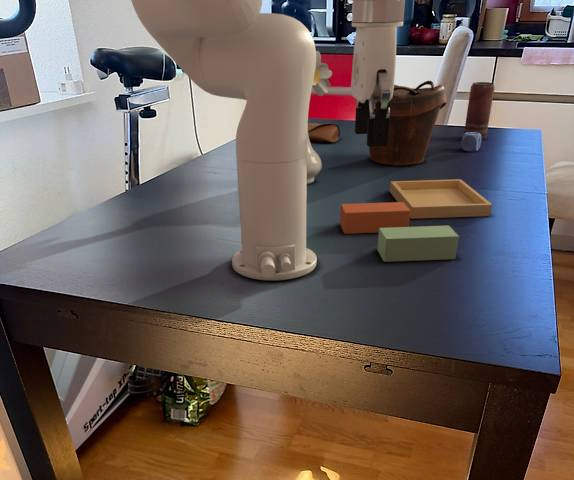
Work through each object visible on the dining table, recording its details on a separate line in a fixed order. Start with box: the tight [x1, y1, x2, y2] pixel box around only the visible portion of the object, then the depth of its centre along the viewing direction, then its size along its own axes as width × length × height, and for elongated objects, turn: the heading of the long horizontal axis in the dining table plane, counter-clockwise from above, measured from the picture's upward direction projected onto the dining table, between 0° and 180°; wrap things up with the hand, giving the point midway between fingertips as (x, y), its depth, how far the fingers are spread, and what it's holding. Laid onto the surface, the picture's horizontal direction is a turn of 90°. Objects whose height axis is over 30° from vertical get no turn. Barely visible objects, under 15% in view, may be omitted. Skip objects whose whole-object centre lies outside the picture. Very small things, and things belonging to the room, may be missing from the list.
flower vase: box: [307, 50, 333, 185], centre depth 119 cm, size 13×18×25 cm
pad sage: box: [377, 225, 460, 263], centre depth 88 cm, size 5×11×4 cm, turn 94°
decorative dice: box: [460, 132, 482, 153], centre depth 148 cm, size 4×4×4 cm
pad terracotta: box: [339, 201, 411, 235], centre depth 98 cm, size 5×11×4 cm, turn 94°
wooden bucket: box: [368, 80, 448, 167], centre depth 136 cm, size 18×20×18 cm
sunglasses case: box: [308, 122, 341, 144], centre depth 162 cm, size 18×7×7 cm
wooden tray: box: [389, 178, 493, 220], centre depth 110 cm, size 18×15×2 cm
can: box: [463, 81, 495, 141], centre depth 158 cm, size 6×6×14 cm
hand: (370, 139), depth 93 cm, fingers open, 9 cm apart
